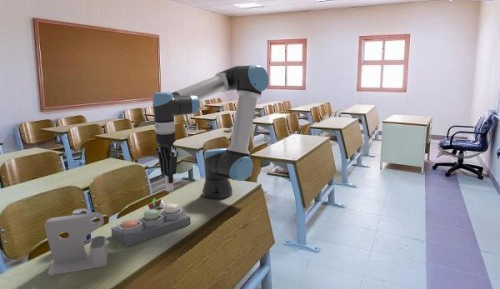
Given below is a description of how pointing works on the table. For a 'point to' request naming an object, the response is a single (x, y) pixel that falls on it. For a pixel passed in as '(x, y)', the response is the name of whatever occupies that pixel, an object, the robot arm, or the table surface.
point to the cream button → (171, 208)
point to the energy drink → (83, 211)
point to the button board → (150, 227)
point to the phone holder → (75, 243)
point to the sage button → (151, 215)
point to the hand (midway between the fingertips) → (169, 190)
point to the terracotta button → (129, 224)
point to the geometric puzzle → (157, 205)
